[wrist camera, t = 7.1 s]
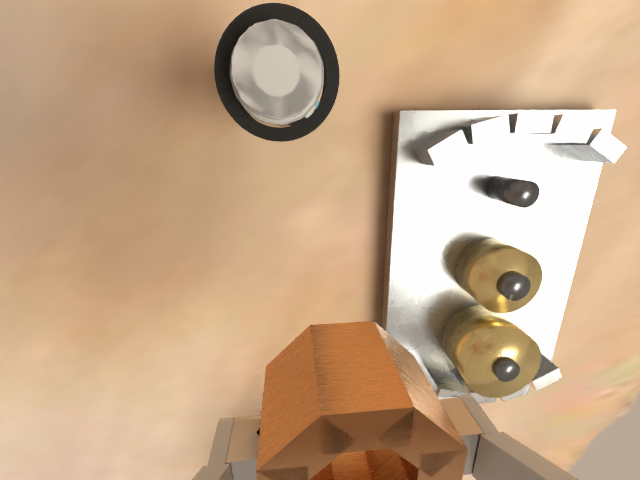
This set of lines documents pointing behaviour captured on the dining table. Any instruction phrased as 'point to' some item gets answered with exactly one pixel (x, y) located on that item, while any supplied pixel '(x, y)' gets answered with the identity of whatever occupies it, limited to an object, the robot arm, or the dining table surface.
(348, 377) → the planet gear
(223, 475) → the robot arm
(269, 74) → the push button
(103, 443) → the dining table surface
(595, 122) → the carrier
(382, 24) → the dining table surface
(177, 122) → the dining table surface
